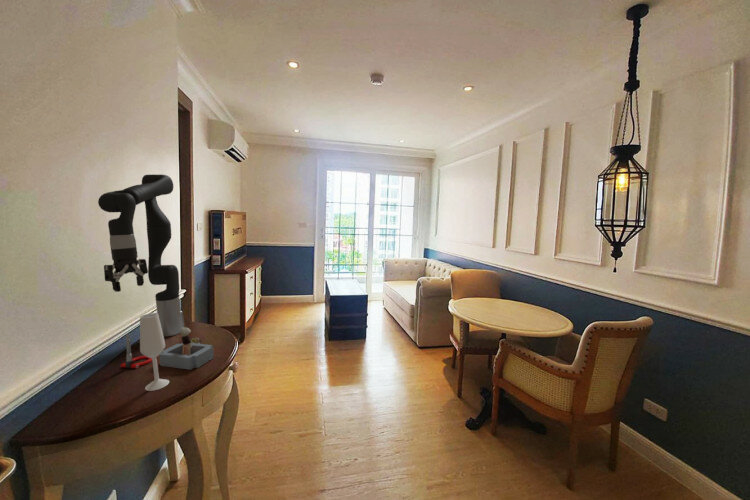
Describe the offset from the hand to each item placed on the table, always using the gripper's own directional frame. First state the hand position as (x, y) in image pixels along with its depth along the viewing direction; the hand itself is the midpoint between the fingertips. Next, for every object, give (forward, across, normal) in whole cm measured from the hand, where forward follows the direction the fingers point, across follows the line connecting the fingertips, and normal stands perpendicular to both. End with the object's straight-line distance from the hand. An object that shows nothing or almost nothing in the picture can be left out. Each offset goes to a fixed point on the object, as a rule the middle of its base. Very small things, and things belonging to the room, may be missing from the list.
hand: (129, 288), depth 116 cm
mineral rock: (+29, -13, +12) cm, 34 cm away
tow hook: (+29, +3, +4) cm, 29 cm away
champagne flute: (+28, +14, +25) cm, 41 cm away
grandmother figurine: (+28, -3, +21) cm, 35 cm away
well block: (+29, -2, +21) cm, 36 cm away
